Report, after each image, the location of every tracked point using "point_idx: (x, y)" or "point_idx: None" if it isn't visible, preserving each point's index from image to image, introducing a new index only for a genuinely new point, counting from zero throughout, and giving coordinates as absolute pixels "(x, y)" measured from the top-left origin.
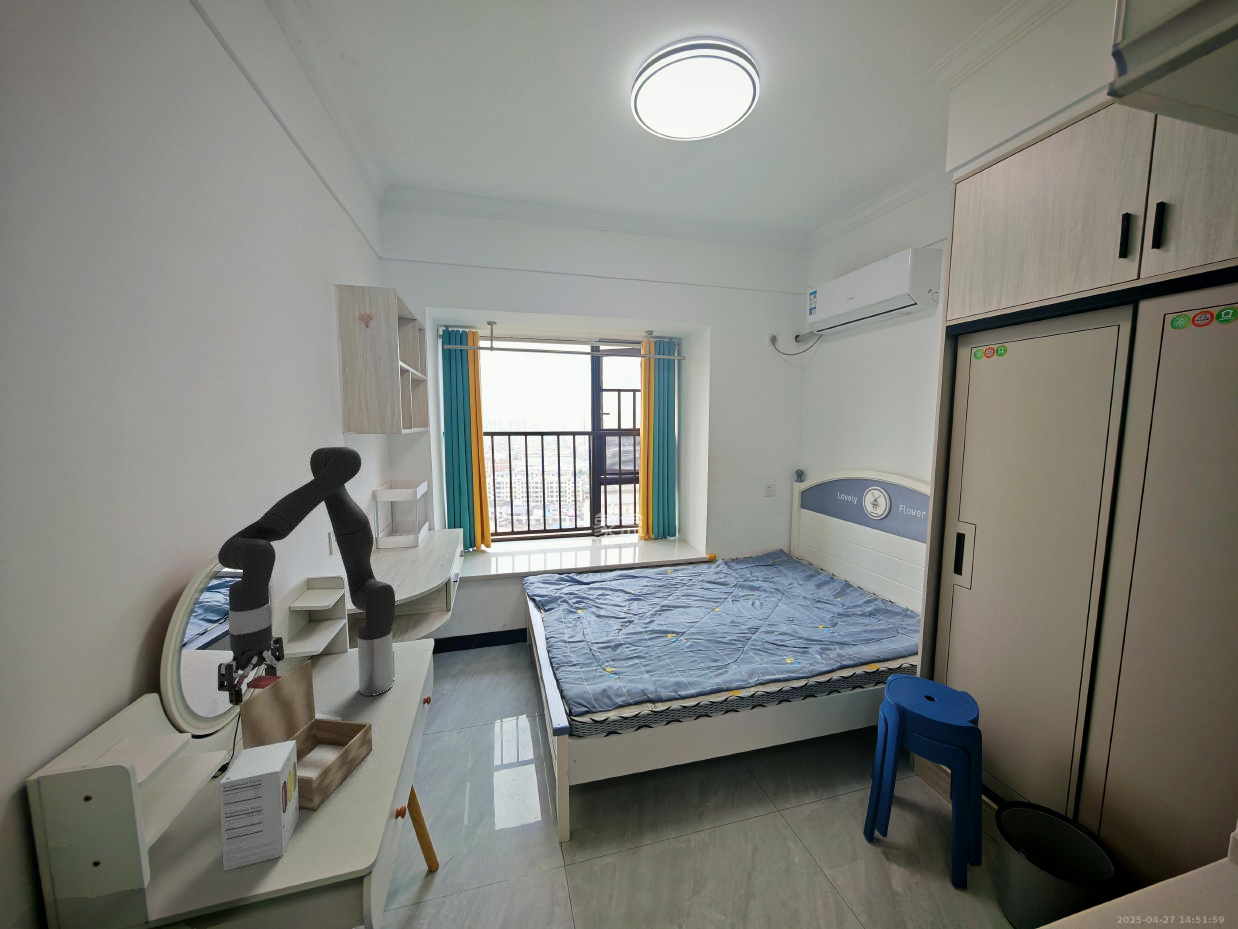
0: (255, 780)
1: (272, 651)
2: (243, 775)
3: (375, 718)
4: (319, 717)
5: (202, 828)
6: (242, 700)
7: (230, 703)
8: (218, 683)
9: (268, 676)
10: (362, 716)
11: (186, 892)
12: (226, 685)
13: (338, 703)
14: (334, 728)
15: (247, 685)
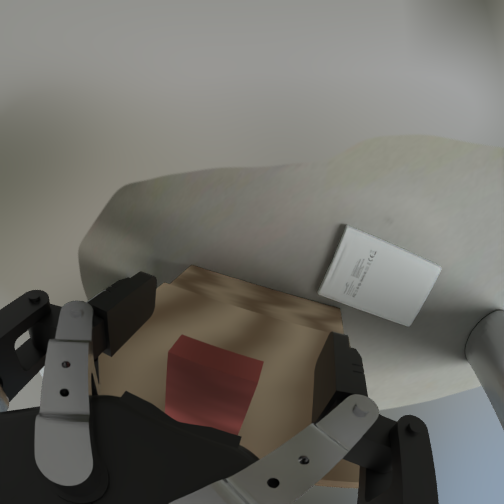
0: None
1: (389, 490)
2: (40, 372)
3: (391, 374)
4: (425, 282)
5: (149, 219)
6: (146, 320)
7: (126, 280)
8: (3, 312)
9: (236, 423)
10: (407, 352)
11: (85, 265)
12: (20, 348)
13: (469, 289)
14: None
15: (172, 348)
